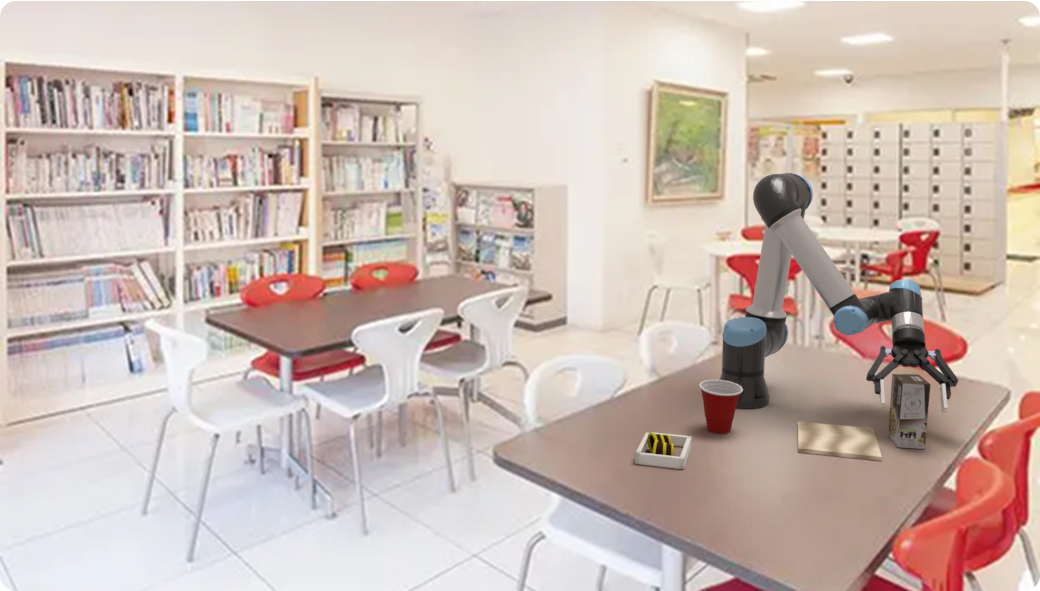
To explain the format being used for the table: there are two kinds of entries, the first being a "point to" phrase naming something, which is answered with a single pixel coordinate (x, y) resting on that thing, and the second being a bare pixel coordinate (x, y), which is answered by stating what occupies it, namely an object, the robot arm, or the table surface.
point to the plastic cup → (720, 404)
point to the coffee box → (909, 410)
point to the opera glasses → (660, 444)
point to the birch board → (838, 441)
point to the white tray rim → (664, 459)
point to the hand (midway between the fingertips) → (913, 407)
